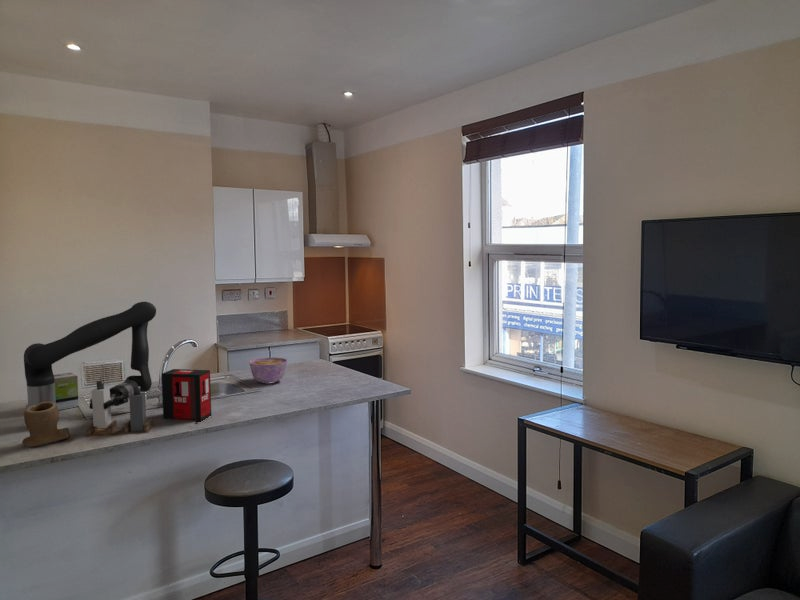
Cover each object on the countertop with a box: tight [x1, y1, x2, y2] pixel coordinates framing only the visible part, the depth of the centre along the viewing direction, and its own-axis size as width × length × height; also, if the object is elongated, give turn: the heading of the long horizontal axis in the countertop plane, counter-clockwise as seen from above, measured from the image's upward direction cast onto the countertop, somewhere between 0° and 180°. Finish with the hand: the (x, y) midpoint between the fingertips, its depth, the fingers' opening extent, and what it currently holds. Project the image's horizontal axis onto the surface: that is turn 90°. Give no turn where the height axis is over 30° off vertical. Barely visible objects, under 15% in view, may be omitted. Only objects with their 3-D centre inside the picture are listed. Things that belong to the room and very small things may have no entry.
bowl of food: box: [248, 356, 288, 383], centre depth 288 cm, size 20×20×12 cm
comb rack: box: [84, 417, 155, 438], centre depth 207 cm, size 22×10×4 cm, turn 102°
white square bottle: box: [90, 380, 113, 428], centre depth 205 cm, size 4×4×17 cm
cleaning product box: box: [161, 368, 212, 422], centre depth 225 cm, size 16×9×20 cm, turn 82°
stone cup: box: [21, 402, 70, 448], centre depth 197 cm, size 15×12×15 cm
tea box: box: [53, 372, 79, 411], centre depth 239 cm, size 15×10×15 cm
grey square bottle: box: [128, 386, 147, 432], centre depth 208 cm, size 4×4×17 cm
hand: (97, 406), depth 203 cm, fingers closed on white square bottle, 4 cm apart
